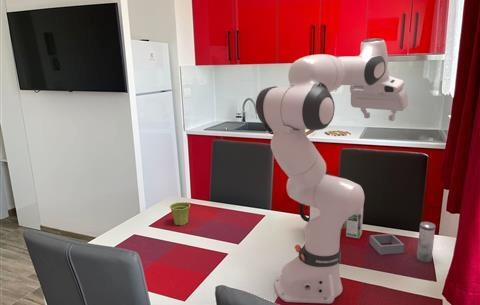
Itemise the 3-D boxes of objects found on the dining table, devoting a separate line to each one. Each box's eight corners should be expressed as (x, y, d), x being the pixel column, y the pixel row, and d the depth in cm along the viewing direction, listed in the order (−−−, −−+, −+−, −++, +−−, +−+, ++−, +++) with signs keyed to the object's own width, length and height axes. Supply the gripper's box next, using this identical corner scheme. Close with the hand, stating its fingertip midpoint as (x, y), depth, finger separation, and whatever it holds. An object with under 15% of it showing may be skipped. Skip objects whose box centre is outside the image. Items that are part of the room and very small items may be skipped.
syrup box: (345, 236, 162) (347, 204, 159) (348, 230, 167) (350, 200, 164) (359, 239, 160) (361, 206, 156) (362, 233, 165) (363, 202, 161)
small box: (346, 229, 169) (347, 212, 167) (336, 228, 170) (337, 211, 168) (346, 224, 174) (347, 208, 172) (337, 223, 175) (337, 207, 173)
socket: (380, 254, 146) (380, 246, 146) (369, 243, 156) (369, 235, 155) (403, 253, 147) (404, 244, 147) (391, 241, 157) (392, 233, 156)
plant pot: (168, 221, 182) (167, 204, 179) (187, 217, 185) (186, 200, 183) (174, 228, 173) (172, 211, 171) (193, 224, 177) (192, 207, 175)
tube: (421, 262, 140) (425, 228, 137) (413, 255, 145) (417, 222, 142) (434, 261, 141) (438, 227, 137) (426, 254, 146) (430, 221, 142)
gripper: (345, 86, 140) (349, 120, 146) (401, 88, 126) (403, 125, 132) (353, 79, 143) (357, 112, 149) (408, 81, 129) (410, 117, 136)
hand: (379, 118), depth 141 cm, fingers open, 8 cm apart
